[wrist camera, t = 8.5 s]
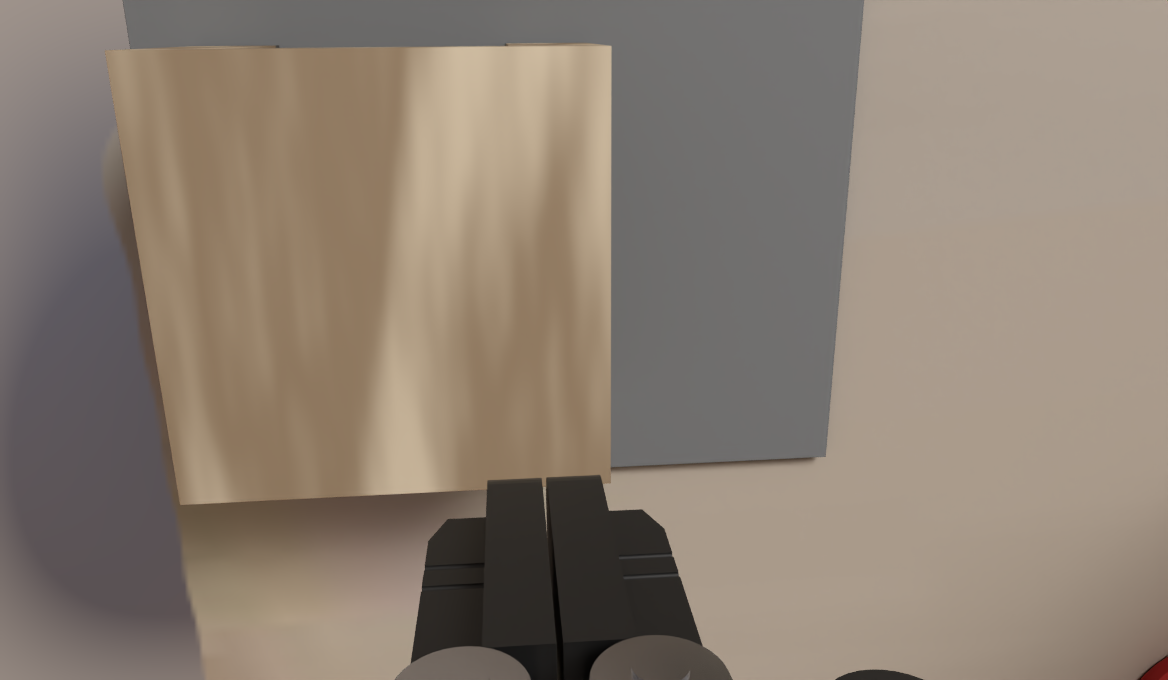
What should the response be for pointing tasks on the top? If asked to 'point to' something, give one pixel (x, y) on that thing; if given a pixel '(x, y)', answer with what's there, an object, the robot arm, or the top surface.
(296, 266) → the stool
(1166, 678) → the canned food
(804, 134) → the mat
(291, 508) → the top surface
